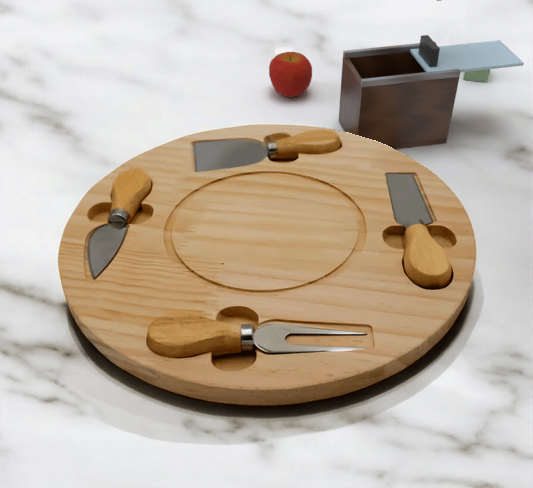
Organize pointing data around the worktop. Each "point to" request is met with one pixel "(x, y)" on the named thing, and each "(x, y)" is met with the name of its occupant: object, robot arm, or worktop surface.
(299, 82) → the apple
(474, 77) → the block
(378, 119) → the case
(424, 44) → the pane
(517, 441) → the worktop surface
